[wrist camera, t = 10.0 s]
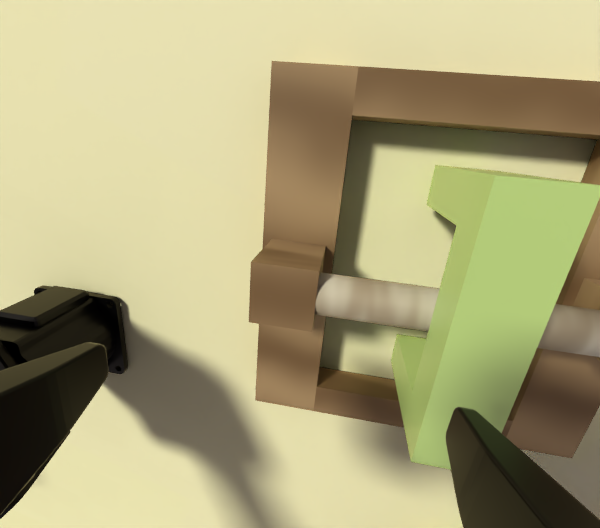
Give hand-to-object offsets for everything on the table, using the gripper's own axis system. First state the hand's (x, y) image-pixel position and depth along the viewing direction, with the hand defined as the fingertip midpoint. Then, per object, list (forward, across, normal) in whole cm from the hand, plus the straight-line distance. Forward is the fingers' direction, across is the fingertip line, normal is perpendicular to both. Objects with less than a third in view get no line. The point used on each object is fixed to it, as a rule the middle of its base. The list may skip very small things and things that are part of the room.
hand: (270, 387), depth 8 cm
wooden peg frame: (+12, -7, 0) cm, 14 cm away
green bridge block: (+11, -7, 0) cm, 13 cm away
